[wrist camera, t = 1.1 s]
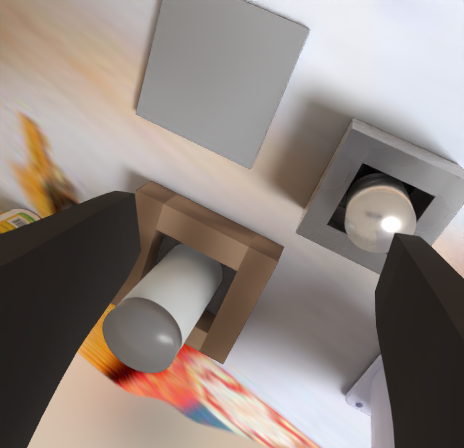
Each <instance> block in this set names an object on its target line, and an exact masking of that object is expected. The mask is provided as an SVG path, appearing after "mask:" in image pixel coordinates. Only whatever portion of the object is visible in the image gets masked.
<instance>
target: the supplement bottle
mask: <svg viewBox="0 0 464 448" xmlns="http://www.w3.org/2000/svg"><path fill="white" fill-rule="evenodd" d="M37 220H40V218H39V217H38V216H37V215H35V214H34V213H32V212H30V211H28V210H24V209H11V210H8V211H6V212H3V213H1V214H0V234H1V233H4V232H7V231H10V230H13V229H16V228H18V227H21V226H24V225H26V224H29V223H32V222H34V221H37Z"/></svg>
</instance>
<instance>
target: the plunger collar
mask: <svg viewBox="0 0 464 448" xmlns="http://www.w3.org/2000/svg"><path fill="white" fill-rule="evenodd" d="M362 163H364V164H366V165H369V166H371V167H373V168H375V169H377V170H379V171H382V172H384V173H386V174H388V175H390V176H392V177H395V178H397V179H399V180H401V181H403V182H405V183H408V184H410V185H412V186H414V187H416V188H415V189H414V191H413V192H412V194H411V195H410V197H409V198H410V201H411V204H412V207H413V209H414V212H415V215H416V228H415V231H414V234H413V235H415V236H420V237H421V238H423V239H424V240H425V241H426V242H427V243H428V244H429V245H430V246H432V244H433V243H434V242H435V241H436V239H437V238H438V237H439V235H440V234H441V233H442V232H443V230H444V229H445V228H446V226H447V225H448V224H449V223H450V221H451V220H452V219H453V217H454V216H455V215H456V214H457V212H458V211H459V210H460V208H461V207H462V206H463V205H464V169H463V168H462V167H461V166H460V165H458V164H456V163H453V162H451V161H449V160H447V159H444V158H442V157H440V156H438V155H436V154H433V153H431V152H429V151H427V150H424V149H422V148H420V147H418V146H416V145H413V144H411V143H409V142H407V141H404V140H402V139H400V138H398V137H396V136H393V135H391V134H389V133H387V132H384V131H382V130H380V129H378V128H375V127H373V126H371V125H369V124H367V123H364V122H362V121H360V120H358V119H355V118H353V119H352V121H351V123H350V124H349V126H348V128H347V130H346V132H345V134H344V136H343V138H342V139H341V141H340V143H339V145H338V147H337V149H336V151H335V153H334V154H333V156H332V158H331V160H330V162H329V164H328V166H327V168H326V169H325V171H324V173H323V175H322V177H321V179H320V181H319V183H318V184H317V186H316V188H315V190H314V192H313V194H312V196H311V198H310V199H309V201H308V203H307V205H306V207H305V209H304V211H303V214H302V217H301V219H300V222H299V225H298V228H297V230H296V233H297V234H299V235H301V236H303V237H305V238H307V239H309V240H311V241H313V242H315V243H317V244H319V245H321V246H323V247H325V248H327V249H329V250H331V251H333V252H335V253H337V254H340V255H342V256H344V257H346V258H348V259H350V260H352V261H354V262H356V263H358V264H360V265H362V266H364V267H366V268H368V269H370V270H372V271H374V272H376V273H378V274H380V275H381V272H382V269H383V266H384V263H385V260H386V257H387V254H388V252H387V253H373V252H369V251H366V250H363V249H361V248H359V247H358V246H356V245H355V244H354V243H353V242H352V241H351V240H350V238H349V237H348V235H347V232H346V229H345V213H346V209H345V208H343V207H341V206H339V203H340V201H341V199H342V198H343V196H344V194H345V193H346V191H347V189H348V187H349V186H350V184H351V182H352V181H353V179H354V177H355V175H356V174H357V172H358V170H359V169H360V167H361V165H362Z"/></svg>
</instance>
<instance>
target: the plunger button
mask: <svg viewBox="0 0 464 448" xmlns="http://www.w3.org/2000/svg"><path fill="white" fill-rule="evenodd" d="M415 228H416V215H415V212H414V209H413V207H412V204H411V201H410V198H409V195H408V192H407V190H406V188H405V186H404V185H403V183H402V182H401V181H400V180H398V179H397V178H395V177H392V176H390V175H388V174H384V173H374V174H369V175H366V176H364V177H362V178H360V179H359V180H357V181H356V182H355V183H354V184H353V185H352V187H351V188H350V190H349V192H348V195H347V202H346V213H345V229H346V232H347V235H348V237H349V238H350V240H351V241H352V242H353V243H354V244H355V245H356V246H358V247H359V248H361V249H363V250H366V251H369V252H373V253H387V252H388V251H389V248H390V245H391V242H392V239H393V236H394V233H402V234H408V235H413V234H414V231H415Z"/></svg>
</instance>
